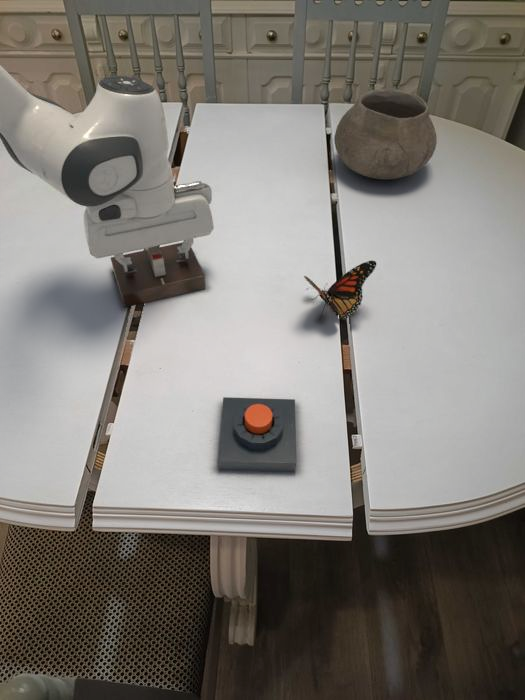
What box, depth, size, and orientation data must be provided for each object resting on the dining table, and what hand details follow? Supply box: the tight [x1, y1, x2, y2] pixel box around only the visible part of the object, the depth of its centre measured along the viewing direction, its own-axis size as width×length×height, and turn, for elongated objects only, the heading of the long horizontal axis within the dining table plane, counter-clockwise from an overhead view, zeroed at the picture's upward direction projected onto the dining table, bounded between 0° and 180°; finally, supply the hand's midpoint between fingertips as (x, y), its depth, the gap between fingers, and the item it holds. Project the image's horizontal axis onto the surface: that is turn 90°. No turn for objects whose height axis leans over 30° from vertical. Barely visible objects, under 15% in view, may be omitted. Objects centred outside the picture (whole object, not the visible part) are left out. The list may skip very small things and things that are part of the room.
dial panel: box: [110, 241, 207, 308], centre depth 92 cm, size 14×10×3 cm
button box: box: [217, 396, 298, 472], centre depth 71 cm, size 10×10×4 cm
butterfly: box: [303, 260, 377, 320], centre depth 85 cm, size 12×10×10 cm
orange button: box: [245, 404, 273, 434], centre depth 69 cm, size 4×4×2 cm
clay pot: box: [333, 88, 438, 180], centre depth 113 cm, size 22×21×15 cm
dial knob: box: [145, 245, 166, 277], centre depth 89 cm, size 6×2×4 cm, turn 21°
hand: (156, 263), depth 90 cm, fingers open, 8 cm apart
